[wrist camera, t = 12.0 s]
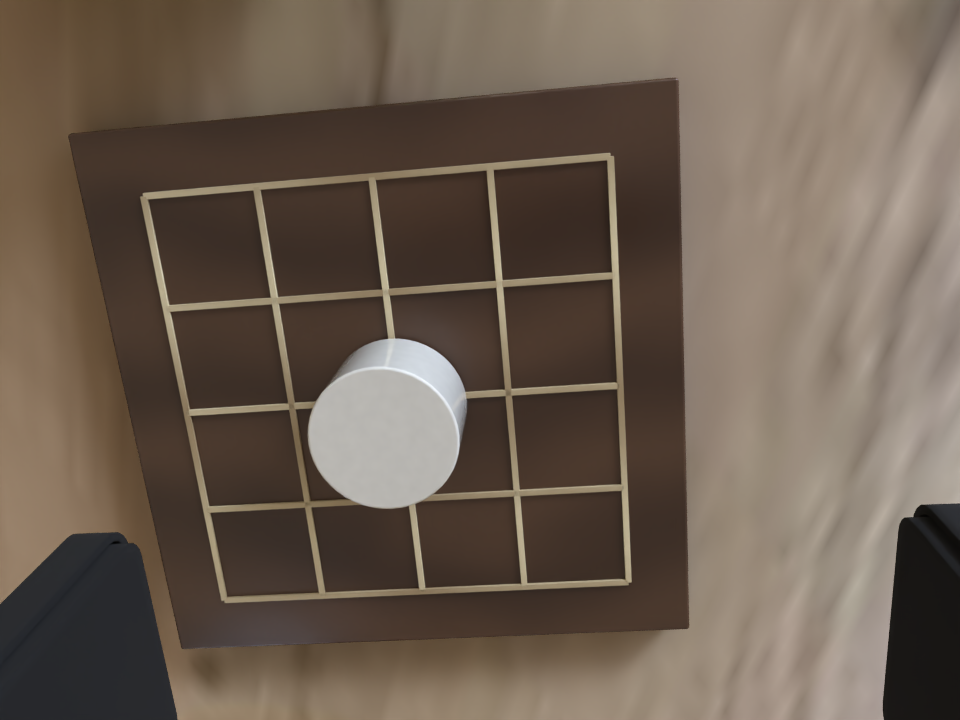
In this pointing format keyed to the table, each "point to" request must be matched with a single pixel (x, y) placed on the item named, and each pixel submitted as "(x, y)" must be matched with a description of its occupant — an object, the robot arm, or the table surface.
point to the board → (417, 317)
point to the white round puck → (389, 424)
